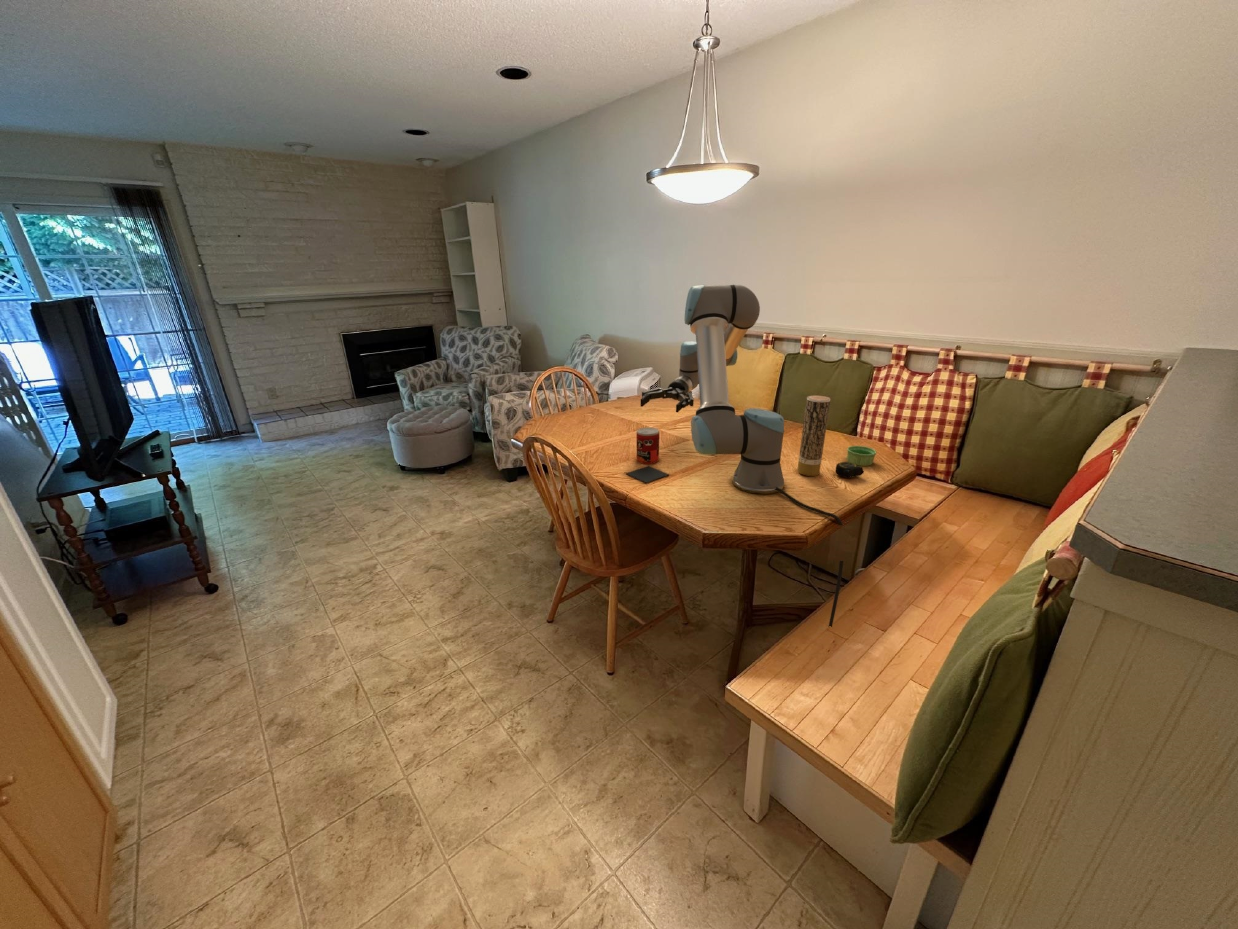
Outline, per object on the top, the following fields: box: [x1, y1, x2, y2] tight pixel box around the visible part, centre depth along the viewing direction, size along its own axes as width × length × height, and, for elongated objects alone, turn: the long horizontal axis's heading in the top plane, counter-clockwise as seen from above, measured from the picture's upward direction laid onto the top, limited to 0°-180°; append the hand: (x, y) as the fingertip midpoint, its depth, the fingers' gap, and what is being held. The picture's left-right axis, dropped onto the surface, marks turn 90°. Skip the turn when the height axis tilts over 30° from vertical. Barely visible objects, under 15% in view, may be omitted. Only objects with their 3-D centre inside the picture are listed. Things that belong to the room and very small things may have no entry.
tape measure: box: [835, 461, 865, 479], centre depth 153 cm, size 7×7×4 cm
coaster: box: [625, 465, 670, 484], centre depth 157 cm, size 10×10×1 cm
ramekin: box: [846, 445, 877, 467], centre depth 164 cm, size 9×9×4 cm
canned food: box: [635, 427, 660, 465], centre depth 167 cm, size 8×8×11 cm
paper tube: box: [797, 395, 831, 477], centre depth 152 cm, size 7×7×25 cm
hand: (658, 405), depth 169 cm, fingers open, 13 cm apart
